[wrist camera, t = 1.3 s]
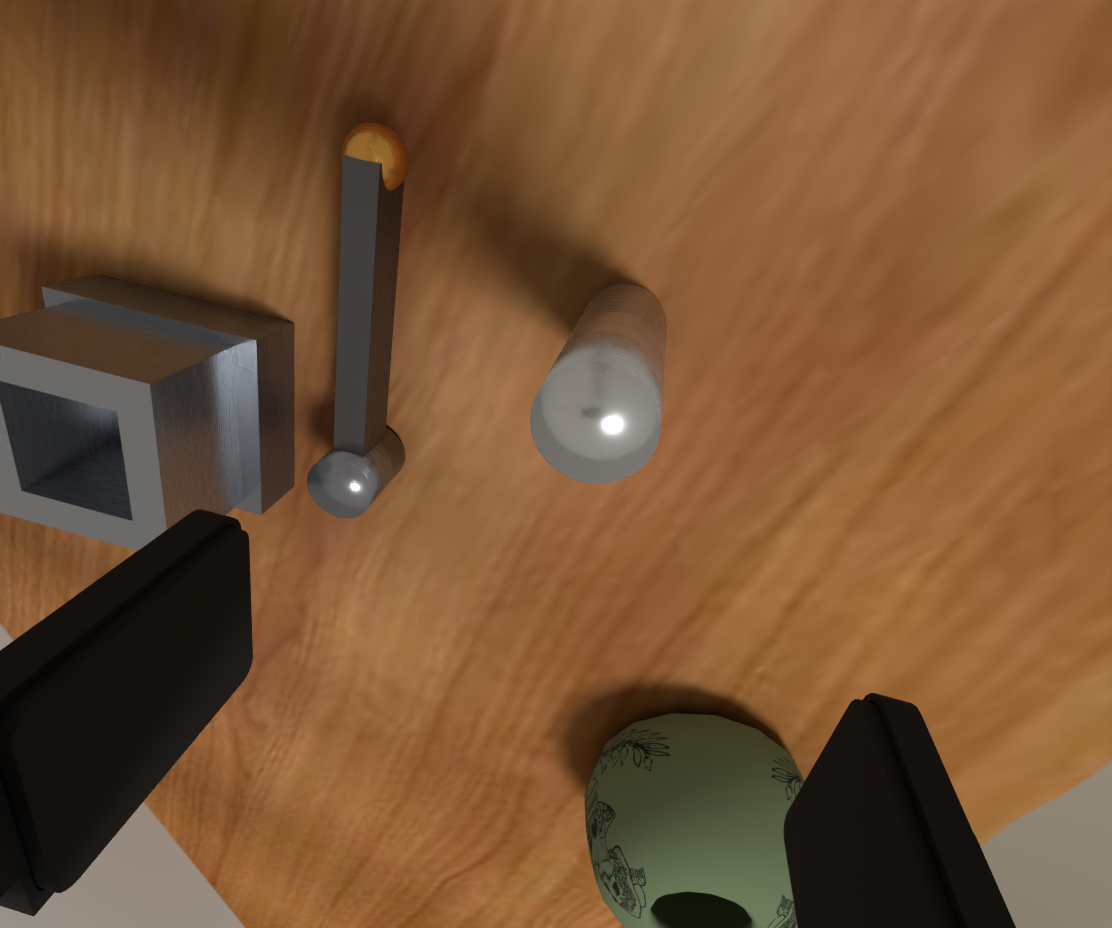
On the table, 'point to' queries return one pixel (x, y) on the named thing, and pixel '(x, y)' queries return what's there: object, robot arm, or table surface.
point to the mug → (692, 825)
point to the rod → (605, 389)
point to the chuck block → (141, 410)
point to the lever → (364, 324)
